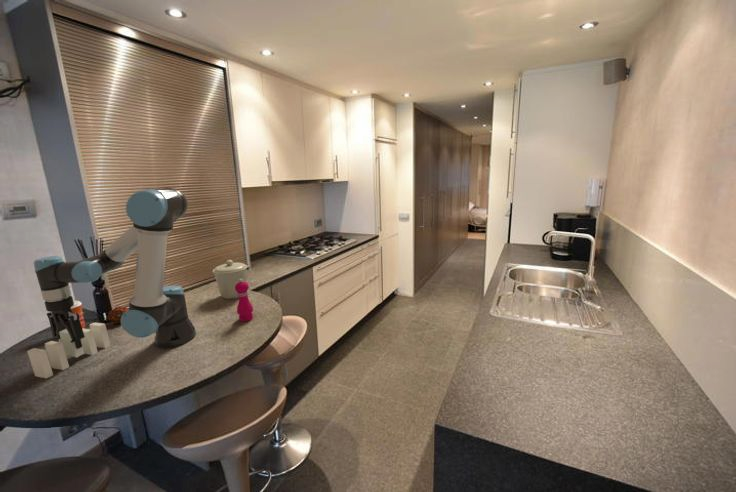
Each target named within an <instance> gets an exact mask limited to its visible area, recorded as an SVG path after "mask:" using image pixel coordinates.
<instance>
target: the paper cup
mask: <svg viewBox="0 0 736 492" xmlns="http://www.w3.org/2000/svg"><path fill="white" fill-rule="evenodd" d="M73 302H74V305H73V306H72V307H71V310H72V312H73V314H77V313H78V314H79V320H80V323H81V326H82V328H83V329H86V322H85V318H84V313H83V308H82V304H83V303H82V302H81V301H80V300H73ZM68 322H69V321H68ZM66 323H67V322H66Z"/></svg>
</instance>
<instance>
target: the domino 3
mask: <svg viewBox="0 0 736 492" xmlns="http://www.w3.org/2000/svg"><path fill="white" fill-rule="evenodd" d="M59 335H60V338H61V341H62V344H63V347H64V351H65V354H66V357H72V358H76V357H75V355H74V352H73V348H72V344H71V342H70V341H72V339H71V337H70V335H69V333H68V331H67V329H65V330H62V331H60V332H59Z"/></svg>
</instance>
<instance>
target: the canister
mask: <svg viewBox="0 0 736 492" xmlns="http://www.w3.org/2000/svg"><path fill="white" fill-rule="evenodd" d="M247 268H248V265H247V264H245V263H243V262H234V261H233V260H232V259H228V260H226V262H225V263H223V264H220V265H218V266H216V267H215V268H214V269H213V270H212V273H213V274H214V278H215V280H216V284H217V288H218V291H219V293H220V296H221V297H222V299H226V300H233V299H239V297H238V296H237V291H236V290H235V285H236V284H237V283H238V282H239V279H243V282H246V283H248V281H247V274H248V273H247V272H248V271H247Z"/></svg>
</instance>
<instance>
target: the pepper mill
mask: <svg viewBox="0 0 736 492" xmlns="http://www.w3.org/2000/svg"><path fill="white" fill-rule="evenodd" d="M249 287H250V286H249V283H248V282H247V283H246V282H243V279H239V282H238V283H237V284H236V285H235V290H236V291H237V296H238V304H237V307H236V314H237V315H239V316H238V320H239V321H240V322H247V321H251V320H253V319H254V314H253V311H254V306H253V304H252V303H251V301H250V299H249Z"/></svg>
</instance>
